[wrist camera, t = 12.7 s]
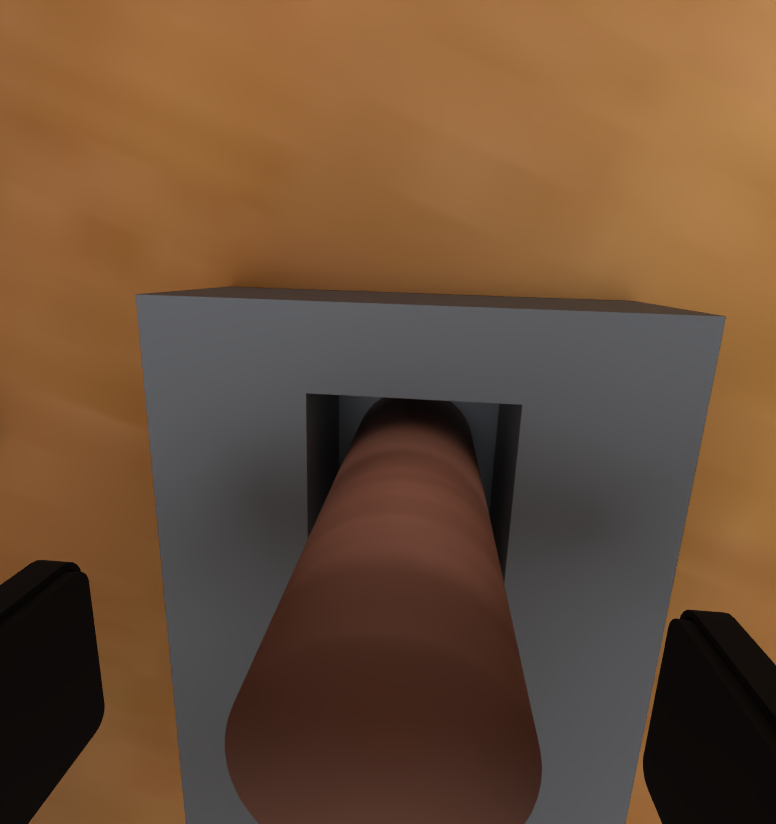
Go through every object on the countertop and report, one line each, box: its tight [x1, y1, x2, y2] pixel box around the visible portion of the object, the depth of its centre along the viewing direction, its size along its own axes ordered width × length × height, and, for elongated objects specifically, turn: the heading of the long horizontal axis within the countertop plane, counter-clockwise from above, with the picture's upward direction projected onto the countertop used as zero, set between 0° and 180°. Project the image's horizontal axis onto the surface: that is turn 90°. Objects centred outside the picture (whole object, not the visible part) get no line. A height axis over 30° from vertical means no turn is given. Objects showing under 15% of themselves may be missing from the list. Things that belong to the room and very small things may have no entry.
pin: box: [225, 397, 542, 824], centre depth 12 cm, size 4×4×12 cm
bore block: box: [136, 287, 726, 824], centre depth 18 cm, size 20×14×6 cm
